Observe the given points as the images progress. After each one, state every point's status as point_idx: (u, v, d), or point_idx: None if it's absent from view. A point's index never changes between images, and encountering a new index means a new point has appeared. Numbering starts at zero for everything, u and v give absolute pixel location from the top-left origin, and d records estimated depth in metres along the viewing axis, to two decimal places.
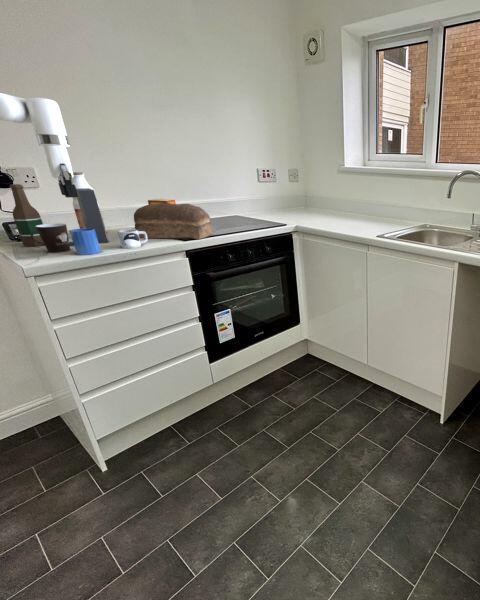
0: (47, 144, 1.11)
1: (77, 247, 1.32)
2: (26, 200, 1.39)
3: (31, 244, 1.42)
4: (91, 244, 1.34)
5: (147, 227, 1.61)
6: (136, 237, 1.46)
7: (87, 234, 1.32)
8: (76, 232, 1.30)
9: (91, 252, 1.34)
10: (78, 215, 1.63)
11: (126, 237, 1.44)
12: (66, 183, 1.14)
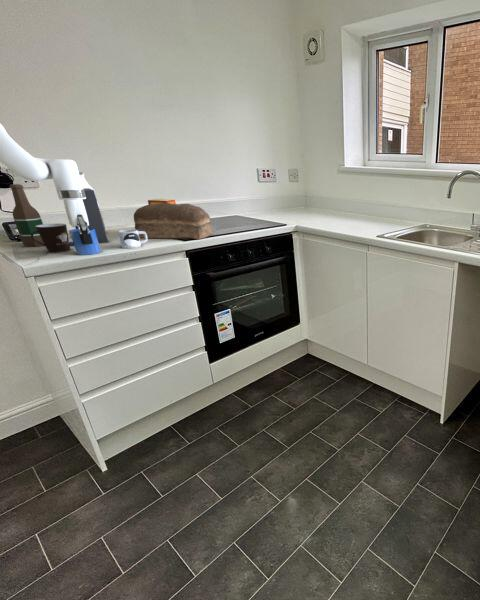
0: (66, 198, 1.26)
1: (77, 247, 1.32)
2: (26, 200, 1.39)
3: (31, 244, 1.42)
4: (91, 244, 1.34)
5: (147, 227, 1.61)
6: (136, 237, 1.46)
7: None
8: (76, 232, 1.30)
9: (91, 252, 1.34)
10: None
11: (126, 237, 1.44)
12: (83, 233, 1.30)
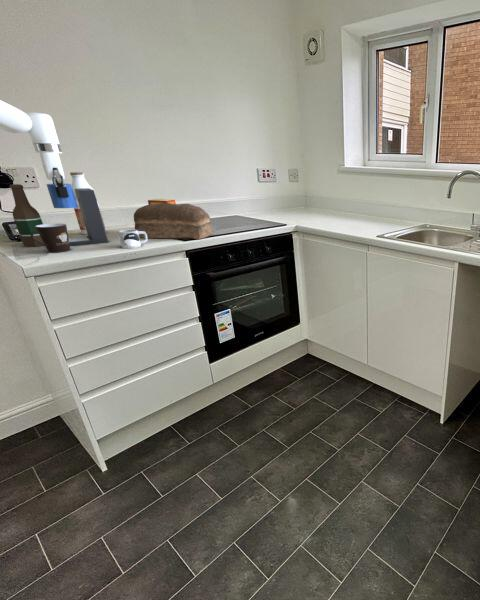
0: (42, 151, 1.31)
1: (54, 200, 1.38)
2: (26, 200, 1.39)
3: (31, 244, 1.42)
4: (67, 198, 1.39)
5: (147, 227, 1.61)
6: (136, 237, 1.46)
7: None
8: (52, 185, 1.36)
9: (67, 206, 1.40)
10: (78, 215, 1.63)
11: (126, 237, 1.44)
12: (58, 186, 1.35)
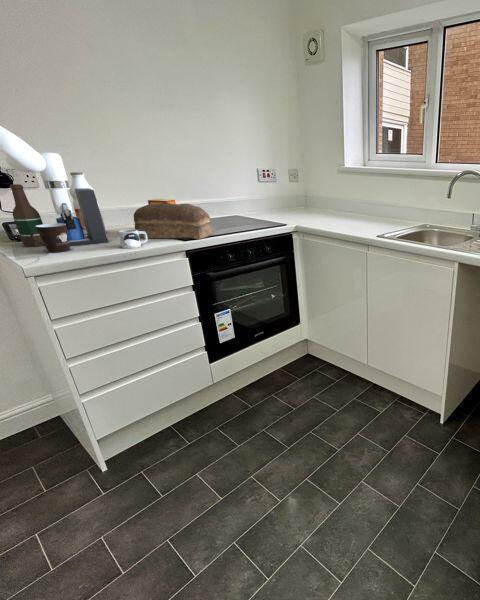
0: (52, 188, 1.39)
1: None
2: (26, 200, 1.39)
3: (31, 244, 1.42)
4: (75, 231, 1.47)
5: (147, 227, 1.61)
6: (136, 237, 1.46)
7: None
8: (61, 220, 1.44)
9: (75, 238, 1.48)
10: (78, 215, 1.63)
11: (126, 237, 1.44)
12: (67, 218, 1.42)
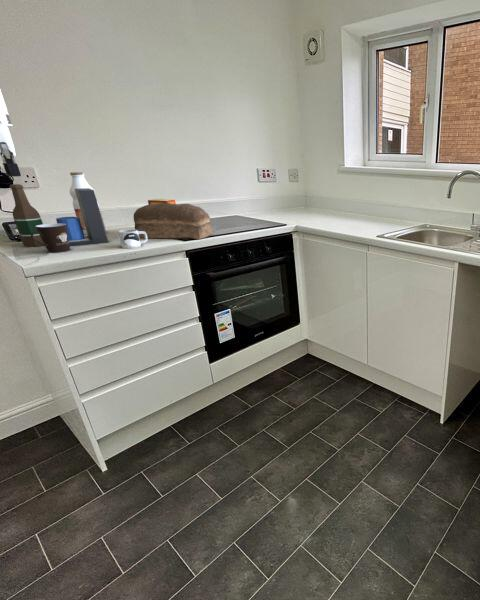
0: None
1: None
2: (26, 200, 1.39)
3: (31, 244, 1.42)
4: (75, 231, 1.47)
5: (147, 227, 1.61)
6: (136, 237, 1.46)
7: (72, 221, 1.46)
8: (61, 220, 1.44)
9: (75, 238, 1.48)
10: (78, 215, 1.63)
11: (126, 237, 1.44)
12: (7, 162, 1.15)
